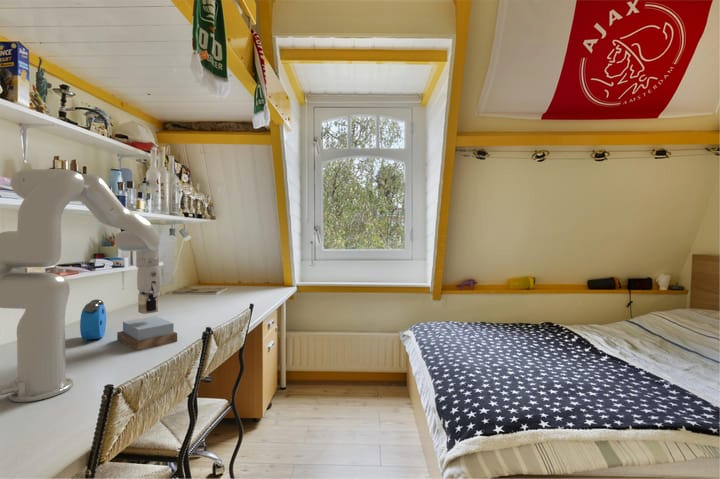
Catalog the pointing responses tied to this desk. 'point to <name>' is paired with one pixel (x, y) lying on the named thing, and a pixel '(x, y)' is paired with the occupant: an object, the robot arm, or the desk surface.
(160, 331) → the slate slab
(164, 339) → the walnut slab
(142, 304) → the beech block
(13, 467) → the desk surface
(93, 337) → the alarm clock
